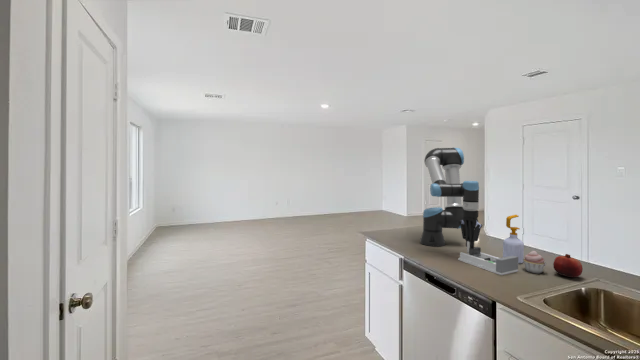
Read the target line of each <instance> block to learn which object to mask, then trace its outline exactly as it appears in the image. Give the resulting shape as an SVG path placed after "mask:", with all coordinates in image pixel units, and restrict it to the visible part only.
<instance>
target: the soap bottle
mask: <svg viewBox="0 0 640 360" xmlns="http://www.w3.org/2000/svg"><path fill="white" fill-rule="evenodd" d="M514 218H519V215H518V214H512V215H508V216H506V220H505V221H506V222H505V226H506V228H508V229H510V231H511V232H509V237H506V238H505V239H503V241H502V247H503V248H502V258H503V257H508V256H517V257H518V264H522V263H523V264H524V262H523V259H525V255H524V254H525V253H524V252H525V250H524V249H525V244H524V241H523V240H521V239H520V238H519V237H518V233H517V232H516V231H518V230H521V228H520V227H517V226H511V220H513V219H514Z"/></svg>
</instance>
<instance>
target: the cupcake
mask: <svg viewBox="0 0 640 360" xmlns="http://www.w3.org/2000/svg"><path fill="white" fill-rule="evenodd" d="M523 264H524V268H525V271H526V272H529V273H531V274H542V273H543V272H544V268H545V267H546V265H547V263H546V262H545V259H544V258H543V256H542V254H541V255H540V254H539V253H538V252H537V251H536V250H531V251H530V252H528V253H527V254H525V255H524V259H523Z"/></svg>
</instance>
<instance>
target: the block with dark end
mask: <svg viewBox="0 0 640 360" xmlns="http://www.w3.org/2000/svg"><path fill="white" fill-rule="evenodd" d="M481 251H482V249H481V247H480V246H474V247H472V248H469V255H472V256H475V257H478V258H482V259H484V260H488V261H492V262H495V263H496V259H498V258H499V257H498V258H495V257H496V256H494V257H491V256H492V255H491V256H488V255H489V254H488V255H485V254H486V253H485V254H482V253H483V252H481Z"/></svg>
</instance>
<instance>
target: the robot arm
mask: <svg viewBox="0 0 640 360" xmlns="http://www.w3.org/2000/svg"><path fill="white" fill-rule="evenodd" d="M423 160H424V165H425V167H426V168H427V170H428V172H429V173H428V174H429V176H430V177H429V178H430V180H431V184H430V187H429V192H430V196H432V197H437V198H442V197H445V198H446V206H445V207H444V209H443V207H441V206H440V207H438V206H437V207H434V206H433V207H428V208H425V209H424V210H423V213H422V215H423V216H422V219H423V221H422V222H423V223H422V234H421V237H420V239H419V240H420V242H419V243H420V244H422V245H424V246H427V247H444V246H446V241H445V238H444V233H443V229H457V230H459V229H460V230H461V236H462V239H463V240H465V246H466V254H469V248H472V247H475V242H479V237H480V234H481V233H480V232H481V229H482V227H483V223H480V222H479V220H478V219H479V198H480V197H479V194H480V193H479V191H480V186H479V181H477V180H464V181H463V182H462V183H461V178H460V169H461V167H462V165H463V164H464V163H465V155H464V151H463V150H462V149H461V148H460V147H441V148H440V147H437V148H434V149H433V148H432V149H431V150H429V151H428V152H427V154H426V155H425V157H424V159H423ZM441 166H442V167H441ZM443 170H444V172H443ZM444 173H445V175H444Z"/></svg>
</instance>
